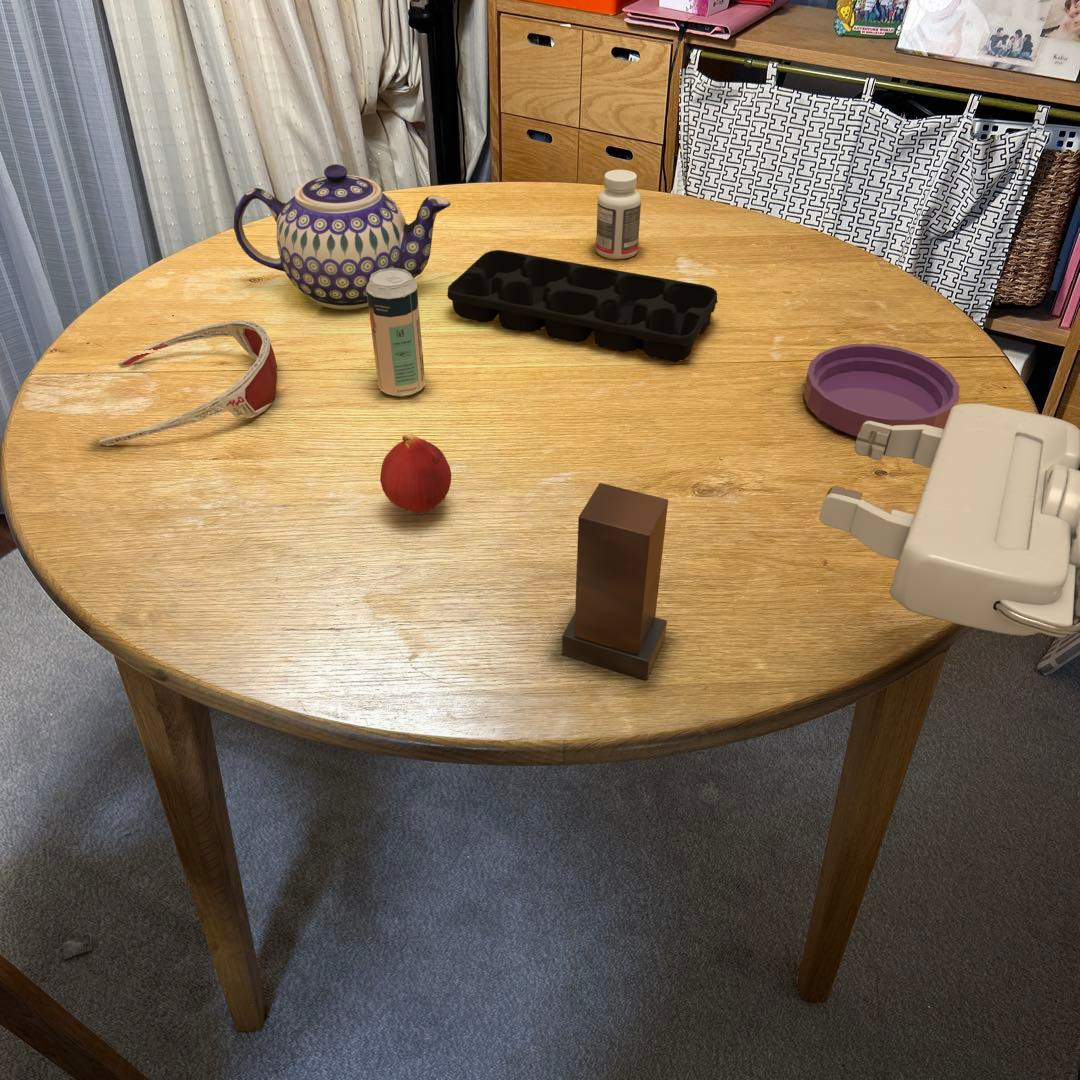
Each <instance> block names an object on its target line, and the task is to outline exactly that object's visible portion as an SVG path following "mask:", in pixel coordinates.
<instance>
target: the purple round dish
mask: <svg viewBox="0 0 1080 1080" xmlns="http://www.w3.org/2000/svg"><path fill="white" fill-rule="evenodd" d="M802 395H803V398H804V400H805V401H804V402H805V404H806V406H807V408H808V410H810V411H811V412H812V413H813V414H814V415H815V416H816V417H817V418H818V419H819V420H820V421H821V422H823V423H825V424H827V425H829V426H830V427H832V428H834V429H835V430H837V431H840V432H841V433H843V434H847V435H850V436H852V437H856V438H857V436H858V433H859V431H860V429H861V426H862V425H863V424H864V422H866V421H874V422H878V423H882V424H886V425H890V426H895V425H923V424H925V425H929V426H933V427H937V428H941V429H944V427H945V425H946V422H947V419H948V416H949V413H950V410H951V408H952V407H953V406H955V405H959V404H958V403H959V402H960V401H959V400H960V385H959V383H958V381H957V380H956V378H955V377H954V375H953V373H951V372H950V371H949V370H947V369H946V368H945V367H944V366H943V365H941V364H940V363H939V362H937V361H935V360H933V359H931V358H929V357H927V356H925V355H923V354H921V353H918V352H915V351H912V350H908V349H905V348H902V347H898V346H891V345H886V344H878V343H851V344H845V345H838V346H834V347H831V348H829V349H827V350H823V351H821V352H819V353H818V354H817V355H815V357H814V358H813V359H812V360H811V361H810V362H809V365H808V369H807V373H806V377H805V382H804V388H803V393H802Z"/></svg>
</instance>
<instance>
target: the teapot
mask: <svg viewBox="0 0 1080 1080" xmlns="http://www.w3.org/2000/svg"><path fill="white" fill-rule="evenodd" d="M323 175H324V176H321V177H317V178H314V179H312V180H309V181H306V182H304V183H302V184H300V186H298V187H297V188H296V189H295V190H294V196H293V197H292V198H290V199H289V200H288V201H287V202H286V203H285V202H282V201H280V200H279V199H278V198H276V197H275V196H274V195H273V194H271V193H269V192H268V191H266V190H265V189H263V188H258V187H254V188H251V189H249V191H247V192H245V193H244V194H243V196H242V197H240V199H239V201H238V204H237V205H236V207H235V210H234V214H233V231H234V234H235V238H236V240H237V243H238V244H239V246H240V248H241V249H242V251H243V252H244V253H245V254H246V255H247V256H248V257H249V258H250V259H252V260H253V261H255V262H256V263H258V264H260V265H263V266H264V267H267V268H270V269H274V270H276V271H280V272H283V273H285V275H286V276H287V278H288V279H289V281H290V282H291V284H292V285H293V286H294V287H296V288H297V289H298V290H299V291H301V292H302V293H303V294H304V295H306V296H308V297H309V298H310V299H311V301H313V302H314V303H315V304H317V305H319V306H321V307H323V308H328V309H333V310H344V311H345V310H348V311H349V310H358V309H363V308H369V307H368V298H367V291H366V287H367V284H368V283H369V279H370V277H371V274H373V273H375V272H376V271H378V270H381V269H388V268H398V269H405V270H406V271H408V272H409V273H411V275H412V277H413V278H414V279H415V278H417V277H418V276H420V275H421V274H422V273H423V271H424V270H425V269H426V267H427V265H428V264H429V260H430V257H431V250H432V242H433V233H434V225H435V220H436V218H437V214H439V213H440V212H442V211H443V210H445V209H447V208H449V207H450V206H451V205H452V203H451V202H450V201H449V200H448V199H446V198H445V197H441V196H440V195H439V196H438V195H429V196H426V198H425V199H424V200H422V203H421V204H420V207H419V209H418V210H417V213H416V217H415V219H414V220H413V221H411V222H410V223H409V224H408V223H407V221H406V218H405V216H404V213H403V212H402V210H401V208H400V207H399V206H398V204H397V203H396V202H395V201H394V200H393V199H392V198H391V197H389V196H388V195H386V194H385V193H384V192H383V191H382V188H381V186H380V185H379V184H378V183H377V182H375V181H374V180H372V179H370V178H366V177H363V176H359V175H349V174H348V169H347V168H346V167H345V166H344V165H342V164H337V163H335V164H330V165H328V166H327V167H325V168H324V170H323ZM253 200H258V201H261V202H263V203H264V204H265V205H266V207H268V209H269V212H270V213H271V215H272V218H273V219H274V221H275V224H276V244H277V251H278V255H279V257H278V258H277V257H276V258H274V257H270V256H268V255H265V254H263V253H261V252H260V251H259V250H257V248H255V246H253V244H252V243H251V242H250V241H249V239H248V238H247V236H246V234H245V230H244V227H243V218H244V214H245V212H246V209H247V207H248V206H249V204H250V203H251V202H252V201H253Z"/></svg>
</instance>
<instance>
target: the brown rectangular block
mask: <svg viewBox="0 0 1080 1080" xmlns="http://www.w3.org/2000/svg"><path fill="white" fill-rule="evenodd" d="M668 507H669V499H667V498H663V497H659V496H655V495H652V494H647V493H643V492H640V491H634V490H631V489H627V488H623V487H619V486H615V485H611V484H607V483H603V482H598V484H597V486H596V488H595V490H594V491H593V493H591V496H590V497H589V499H588V501H587V502H586V504H585V506H584V507H583V509H582V510H581V513H580V514H579V515H578V519H577V520H578V521H577V547H576V577H575V578H576V579H575V605H574V606H575V608H574V613H573V615H572V617H571V619H570V621H569V623H568V625H567V626H566V628H565V630H564V632H563V633H562V636H561V639H562V640H561V654H562V655H563V656H567V657H570V658H573V659H576V660H579V661H582V662H585V663H589V664H593V665H596V666H598V667H602V668H606V669H609V670H612V671H615V672H619V673H622V674H625V675H628V676H631V677H635V678H638V679H641V680H645V681H647V680H648V678H649V676H650V674H651V671H652V669H653V668H654V665H655V662H656V661H657V658H658V656H659V653H660V652H661V649H662V646H663V645H664V643H665V640H666V632H667V625H668V620H666V619H663V618H660V617H657V615H656V614H657V605H658V596H659V590H660V589H659V587H660V578H661V568H662V562H663V561H662V560H663V551H664V543H665V532H666V524H667V516H668Z"/></svg>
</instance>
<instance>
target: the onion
mask: <svg viewBox="0 0 1080 1080" xmlns="http://www.w3.org/2000/svg"><path fill="white" fill-rule="evenodd" d="M401 438H402V441H401V442H398V443H397V444H395V445H394V446H393V447H392V448H391V449H390V451H388V453H387V454H386V455H385V457H384V458H383V460H382V463H381V469H380V475H379V477H380V479H379V482H380V485H381V489H382V491H383V493H384V495H385V497H386V498H387V499H388V501H389V502H390V503H392V504H393V505H394V506H396V507H398V508H399V509H402V510H404V511H408V512H410V513H413V514H414V515H422V514H424V513H425V514H426V513H427V512H430V511H433V510H435V508H437V507H439V505H440V504H442V503H443V502H444V500H445V499H446V498H447V495H448V493H449V491H450V488H451V483H452V471H451V467H450V464H449V462H448V460H447V458H446V456H445V454H444V453H443V452H442V450H441V449H440V448H439V447H438V446H436V445H435V444H433V443H431V442H429V441H427V440H425V439H423V438H420V437H417V436H415V435H414V434H413V433H407V434H404V435H403V436H401Z"/></svg>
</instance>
